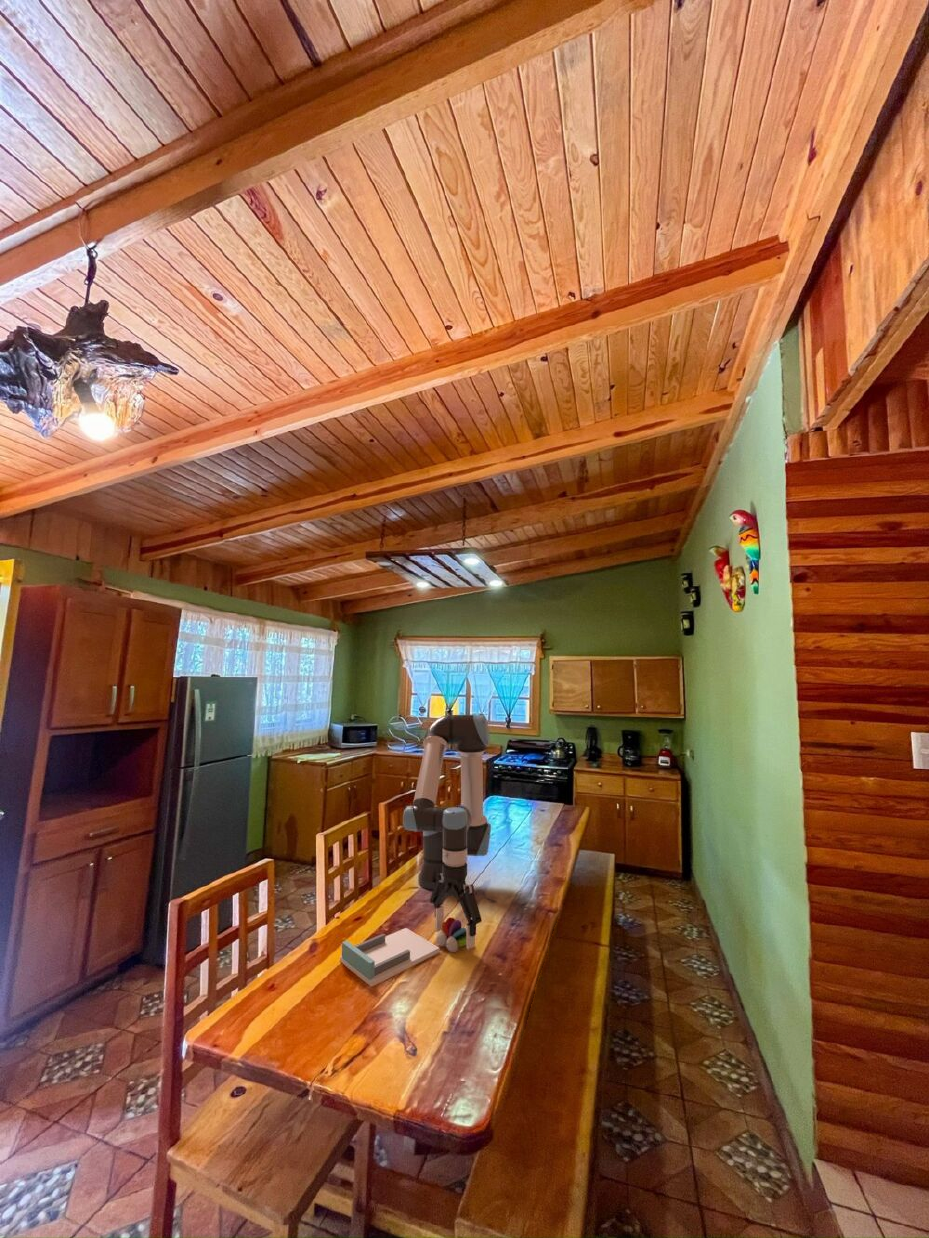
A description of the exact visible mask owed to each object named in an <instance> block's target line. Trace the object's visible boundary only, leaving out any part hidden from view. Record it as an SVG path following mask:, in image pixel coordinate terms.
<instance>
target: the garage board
mask: <svg viewBox="0 0 929 1238" xmlns="http://www.w3.org/2000/svg"><path fill="white" fill-rule="evenodd" d="M439 953H440V947H439V946H437V945H435V944H433V943H432V942H430V941H428V940H427V939H426V938H424V937H422V936H421V935H418V934H417V933H415V932H413V931H412V930H410V929H409V928H407V927H405V928H402V929H400V930H397V931H395V932H392V933H390V934H388V935H386V934H385V933H381V934H379V935H377V936H375V937H372V938H370V939H368V940H365V941H363V942H360V943H358V944H355V945H354V944H353V943H351V942H349V941H348V940H345V941H342V943H341V955H340V956H339V962H340V963H341V964H343V965H344V966H345V967H346V968H347V969H348V970H350V971H351V972H352V973H353V974H355V975H356V976H357V977H359V978H360V979H361V980H362V981H364V982H365V983H366V984H367V985H368V986H370V987H371V988H373V987H374V986H376V985H378V984H380V983H382V982H384V981H386V980H387V979H389V978H392V977H394V976H396V975H398V974H399V973H402V972H403V971H406V970H408V969H409V968H411V967H413V966H416V965H417V964H419V963H421V962H423V961H425V960H427V959H429V958H431V957H433V956H435V955H437V954H439Z"/></svg>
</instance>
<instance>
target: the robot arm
mask: <svg viewBox="0 0 929 1238" xmlns="http://www.w3.org/2000/svg"><path fill="white" fill-rule="evenodd" d="M490 737H491V736H490V727H489V722H488V719H487V718H486V716H484V715H479V714H446V715H443V716H440V717H439V718H437V719H436V720H435V721H433V722H432V723H431V725H430V726H429V727H428V729H427V730H426V731H425V734H424V737H423V742H422V746H423V748H424V749H423V753H422V759H421V762H420V763H421V764H420V768H419V773H418V778H417V782H416V787H415V792H414V797H413V802H412V805H407V806H406V807H405V808H404V810H403V815H402V825H403V828H404V830H407V831H412V832H416V833H417V832H423V833H422V839H423V840H422V863H421V866H420V867H421V868H420V871H419V872H418V873H419V874H418V878H417V883H418V885H419V886H421V887H422V888H424V889H428V890H433V891H432V893H431V897H430V899H429V902H430V904H433V907H434V919H435V921H434V922H435V925H434V927H435V932H436V933H439V932H440V931H442V930H441V926H442V924H443V923H444V922H445V919H444V918H445V913H444V911H445V906H444V905H443V904H444V902H445V900H446V899H447V898H448V896H453V898H455V899H456V900H457V902H459V904H460V906H461V909H462V911H463V913H464V914H463V915H464V916H465V918H466V920H467V922H468V923H466V925H465V926H466V927H465V928H466V945H465V946H466V950H469V949H472V948H474V947H475V946H476V943H475V942H476V935H477V924H479V923H481V922H482V921H483V919H482V915H481V912H480V909H479V905H478V903H477V899H476V895H475V890H474V889H475V888H474V884H467V883H466V878H467V876H468V863H467V862H468V857H469V856H470V857H485V856H486V855H487V854H488V852H489V847H490V841H491V840H490V839H491V831H492V824H491V823H489V822H488V818H487V817H486V815H484V786H483V785H484V777H483V776H484V775H483V774H484V773H483V754H484V753H485V752H487V747H488V746H490V744H491V740H490V739H491V738H490ZM448 746H456V752H458V753H459V755H460V794H461V795H460V798H461V799H460V802H461V803H460V804H459V805H456V806H454V807H453V806H451V807H447V806H446V807H441V806H440V807H438V806H436V804H437V798H438V797H437V796H438V792H439V785H440V780H441V772H442V768H443V761H444V755H445V752H447V749H448V748H449V747H448Z"/></svg>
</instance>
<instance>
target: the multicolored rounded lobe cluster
mask: <svg viewBox="0 0 929 1238" xmlns="http://www.w3.org/2000/svg"><path fill="white" fill-rule="evenodd" d="M436 943H437V944H438V946H440V947H443V948H444V947H446V949H447V951H448V952H450V953H456V952H457V951H458V948H459V947H464V946H466V927H462V922H461V921H460V920H459V919H455V918H454V917H448V918H447V919H446V920H445V921H444V923H443V924H442V926H441V930H440V931H438V932H437V934H436Z"/></svg>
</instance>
